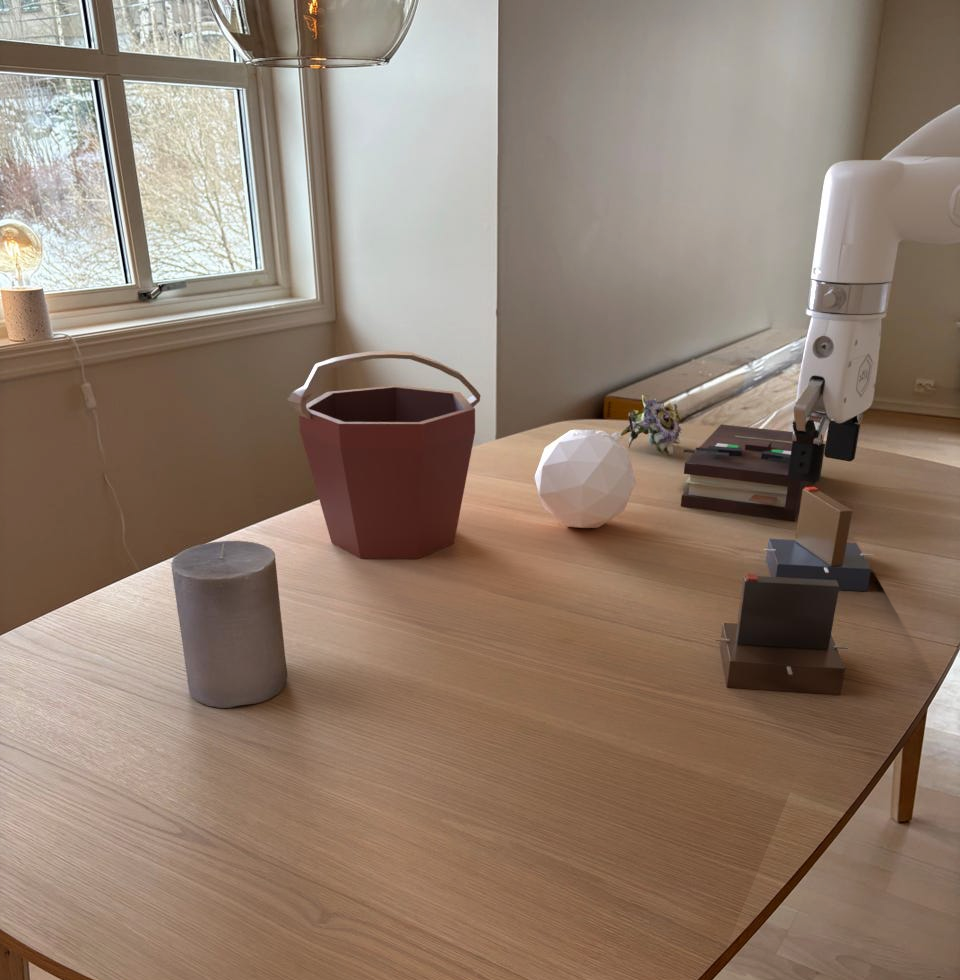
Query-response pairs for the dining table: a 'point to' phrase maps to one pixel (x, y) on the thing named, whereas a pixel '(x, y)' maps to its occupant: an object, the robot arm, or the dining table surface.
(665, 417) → the passion flower
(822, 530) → the frame far
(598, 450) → the geodesic sphere
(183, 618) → the pillar candle
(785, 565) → the stand far
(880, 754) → the dining table surface
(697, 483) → the decorative book
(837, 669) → the stand near
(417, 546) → the bucket
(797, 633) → the frame near
